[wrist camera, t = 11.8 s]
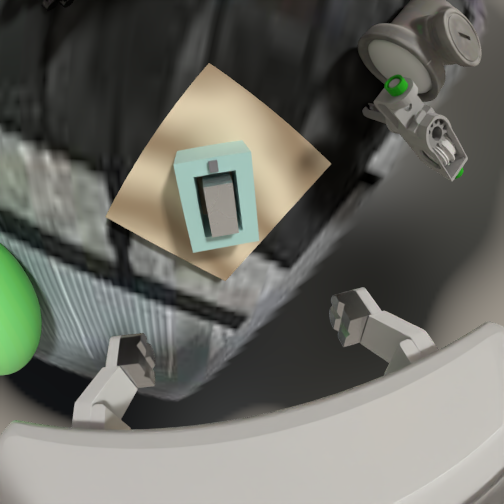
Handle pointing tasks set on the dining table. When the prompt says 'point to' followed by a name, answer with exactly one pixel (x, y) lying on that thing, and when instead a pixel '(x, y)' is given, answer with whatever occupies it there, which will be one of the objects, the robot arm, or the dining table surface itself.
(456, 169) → the mechanical component
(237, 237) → the teal collar
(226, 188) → the steel key shaft
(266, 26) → the dining table surface
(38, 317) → the toy bird
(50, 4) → the valve
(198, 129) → the oak plate
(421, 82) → the pipe fitting
